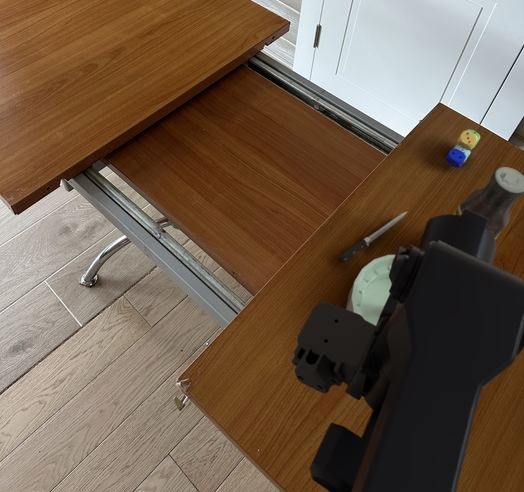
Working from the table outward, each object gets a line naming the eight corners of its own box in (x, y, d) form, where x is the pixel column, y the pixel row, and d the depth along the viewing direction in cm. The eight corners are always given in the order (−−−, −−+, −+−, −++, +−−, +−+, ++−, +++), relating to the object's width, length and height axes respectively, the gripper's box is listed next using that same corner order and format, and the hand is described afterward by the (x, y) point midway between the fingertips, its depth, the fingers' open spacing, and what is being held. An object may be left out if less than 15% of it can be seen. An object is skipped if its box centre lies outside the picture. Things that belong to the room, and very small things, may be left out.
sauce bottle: (422, 246, 79) (471, 164, 64) (454, 232, 81) (508, 150, 66) (449, 282, 75) (507, 204, 60) (482, 267, 77) (546, 188, 63)
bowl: (478, 332, 71) (491, 318, 67) (405, 404, 64) (416, 392, 60) (396, 251, 78) (404, 236, 75) (322, 308, 71) (328, 293, 68)
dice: (454, 175, 89) (468, 151, 84) (440, 167, 90) (453, 142, 85) (473, 150, 94) (487, 125, 89) (460, 142, 95) (473, 118, 90)
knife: (403, 215, 83) (407, 208, 81) (406, 218, 82) (410, 211, 81) (337, 262, 76) (339, 256, 75) (340, 266, 76) (342, 259, 74)
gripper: (364, 219, 47) (334, 295, 59) (259, 408, 36) (247, 456, 47) (484, 281, 44) (427, 348, 55) (409, 511, 32) (357, 535, 44)
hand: (367, 413), depth 51 cm, fingers open, 9 cm apart
